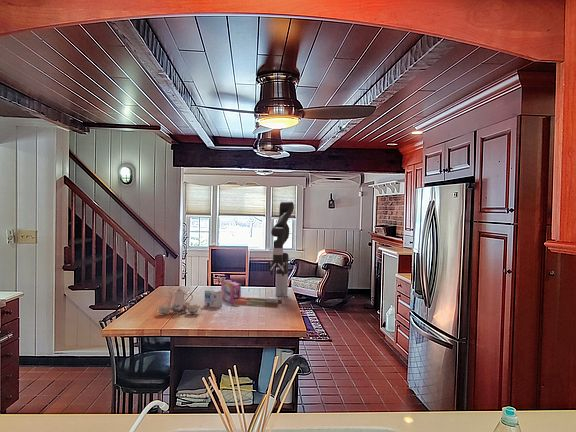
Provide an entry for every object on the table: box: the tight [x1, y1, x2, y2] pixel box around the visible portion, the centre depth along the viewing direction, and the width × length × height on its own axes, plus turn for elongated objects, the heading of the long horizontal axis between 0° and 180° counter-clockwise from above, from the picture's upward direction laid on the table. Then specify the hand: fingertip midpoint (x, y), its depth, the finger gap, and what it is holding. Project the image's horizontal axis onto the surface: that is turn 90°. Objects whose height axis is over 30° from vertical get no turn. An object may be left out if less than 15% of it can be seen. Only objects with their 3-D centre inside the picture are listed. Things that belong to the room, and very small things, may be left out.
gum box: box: [220, 278, 242, 304], centre depth 334 cm, size 24×8×14 cm, turn 26°
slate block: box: [266, 296, 279, 302], centre depth 313 cm, size 6×6×5 cm
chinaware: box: [155, 286, 203, 316], centre depth 288 cm, size 28×17×17 cm, turn 106°
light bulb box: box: [204, 288, 223, 308], centre depth 313 cm, size 11×7×11 cm, turn 62°
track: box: [233, 297, 283, 309], centre depth 316 cm, size 14×31×4 cm, turn 75°
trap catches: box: [234, 296, 252, 306], centre depth 319 cm, size 11×8×3 cm
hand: (277, 275), depth 341 cm, fingers open, 8 cm apart
